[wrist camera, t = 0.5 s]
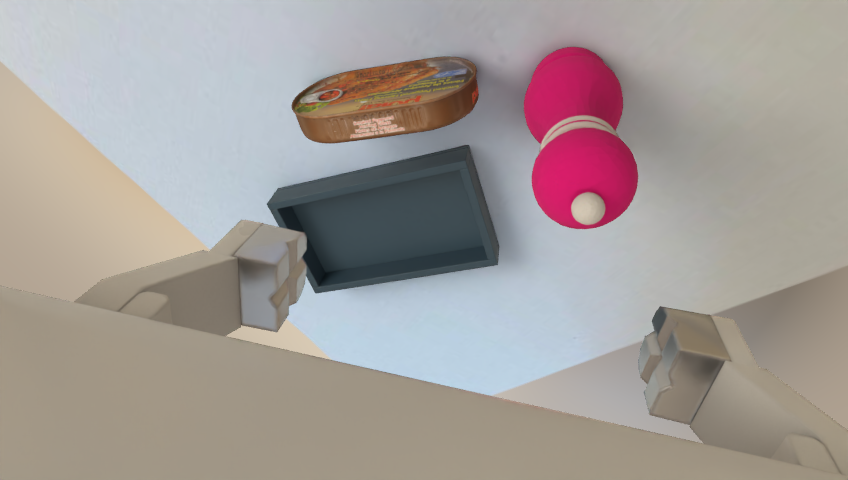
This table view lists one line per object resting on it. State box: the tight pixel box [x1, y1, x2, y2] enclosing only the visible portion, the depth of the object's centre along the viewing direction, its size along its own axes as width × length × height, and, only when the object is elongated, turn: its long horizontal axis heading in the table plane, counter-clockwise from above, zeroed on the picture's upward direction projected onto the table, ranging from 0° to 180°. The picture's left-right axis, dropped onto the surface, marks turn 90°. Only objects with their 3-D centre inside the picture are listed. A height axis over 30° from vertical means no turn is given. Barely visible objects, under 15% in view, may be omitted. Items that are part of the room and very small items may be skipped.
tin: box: [292, 57, 479, 143], centre depth 44 cm, size 15×3×8 cm, turn 101°
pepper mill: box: [524, 47, 638, 229], centre depth 37 cm, size 7×7×20 cm
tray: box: [267, 145, 499, 293], centre depth 55 cm, size 12×20×3 cm, turn 108°
